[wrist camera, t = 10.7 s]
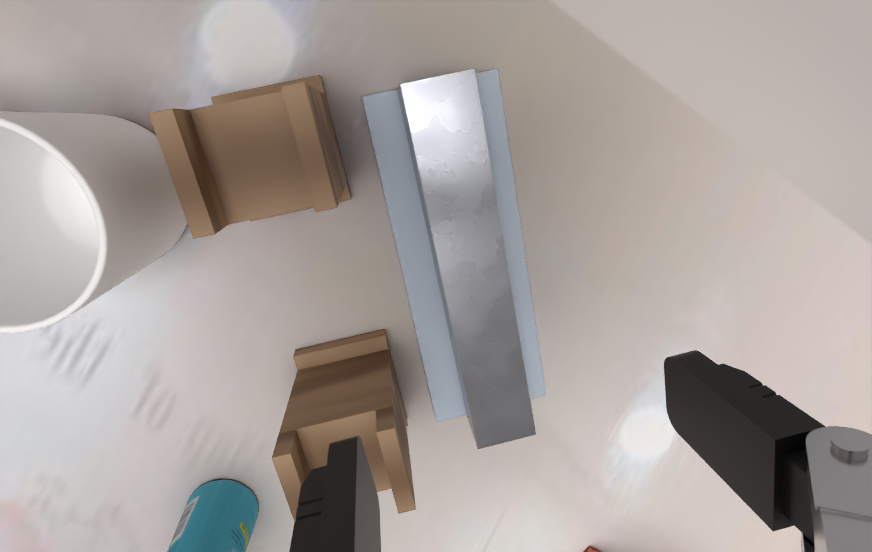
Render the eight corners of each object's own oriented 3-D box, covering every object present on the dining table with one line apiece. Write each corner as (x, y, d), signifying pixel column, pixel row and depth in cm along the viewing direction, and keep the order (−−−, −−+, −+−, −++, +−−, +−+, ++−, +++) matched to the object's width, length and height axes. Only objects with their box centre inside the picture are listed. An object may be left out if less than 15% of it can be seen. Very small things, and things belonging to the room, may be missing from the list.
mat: (362, 97, 29) (362, 96, 29) (495, 69, 30) (497, 68, 29) (435, 417, 36) (436, 421, 36) (543, 390, 37) (545, 395, 36)
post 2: (295, 349, 33) (265, 440, 24) (384, 329, 34) (390, 410, 24) (323, 438, 36) (306, 553, 26) (406, 417, 36) (419, 524, 26)
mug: (32, 32, 27) (-180, -24, 16) (226, 185, 30) (151, 218, 20) (-57, 157, 28) (-305, 178, 18) (140, 291, 31) (28, 373, 21)
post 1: (216, 98, 28) (138, 86, 19) (321, 76, 29) (296, 54, 19) (253, 218, 31) (201, 261, 21) (351, 197, 31) (342, 230, 21)
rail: (396, 88, 29) (400, 84, 25) (461, 75, 29) (474, 68, 25) (466, 414, 36) (477, 449, 32) (518, 401, 36) (535, 434, 32)
